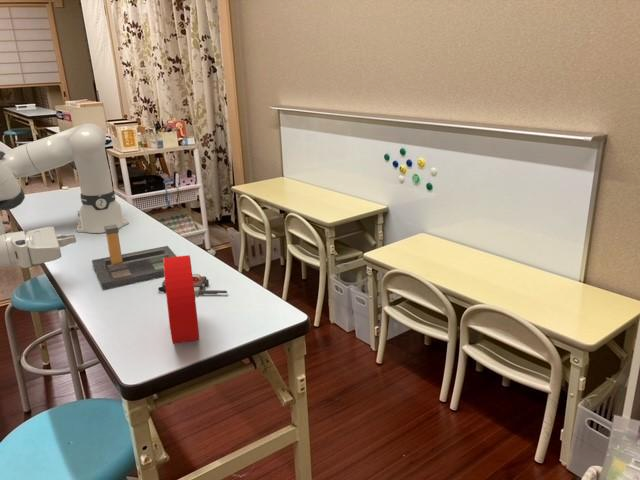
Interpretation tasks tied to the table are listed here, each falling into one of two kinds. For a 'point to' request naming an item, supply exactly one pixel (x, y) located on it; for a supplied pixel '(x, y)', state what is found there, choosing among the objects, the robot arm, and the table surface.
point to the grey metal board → (132, 267)
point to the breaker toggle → (113, 243)
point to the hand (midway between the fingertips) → (75, 238)
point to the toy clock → (181, 299)
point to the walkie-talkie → (197, 286)
